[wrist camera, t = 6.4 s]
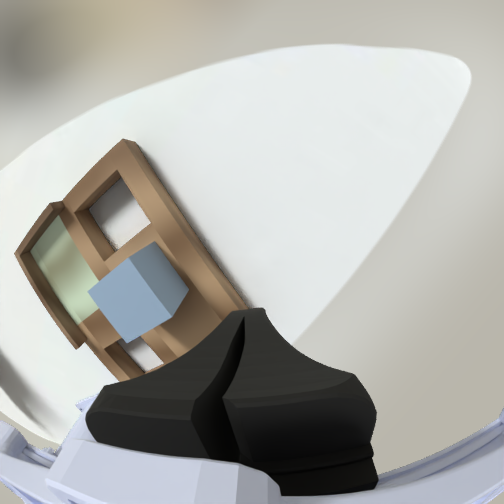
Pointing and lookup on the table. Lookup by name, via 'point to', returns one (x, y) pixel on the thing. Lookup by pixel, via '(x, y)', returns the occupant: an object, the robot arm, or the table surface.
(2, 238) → the table surface
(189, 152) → the table surface
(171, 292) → the slate block
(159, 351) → the brown compartment tray
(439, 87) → the table surface
